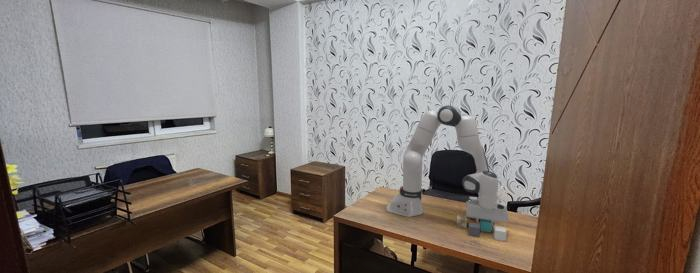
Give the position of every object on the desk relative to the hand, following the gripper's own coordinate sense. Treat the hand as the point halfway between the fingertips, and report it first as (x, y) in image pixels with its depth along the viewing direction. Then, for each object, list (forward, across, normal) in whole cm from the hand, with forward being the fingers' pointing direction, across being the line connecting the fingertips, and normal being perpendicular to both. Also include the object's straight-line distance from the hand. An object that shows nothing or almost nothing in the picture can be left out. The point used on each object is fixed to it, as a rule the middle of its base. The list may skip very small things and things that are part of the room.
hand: (485, 226), depth 153 cm
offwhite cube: (+2, +6, -7) cm, 9 cm away
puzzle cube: (+2, -3, +16) cm, 16 cm away
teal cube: (+2, 0, 0) cm, 2 cm away
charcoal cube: (+2, -6, -7) cm, 9 cm away
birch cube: (+2, -12, 0) cm, 12 cm away
